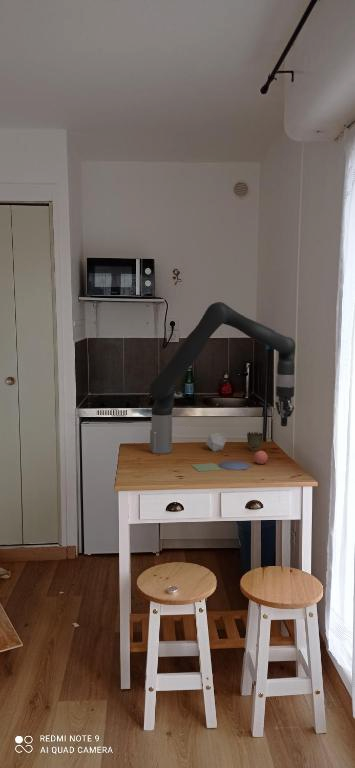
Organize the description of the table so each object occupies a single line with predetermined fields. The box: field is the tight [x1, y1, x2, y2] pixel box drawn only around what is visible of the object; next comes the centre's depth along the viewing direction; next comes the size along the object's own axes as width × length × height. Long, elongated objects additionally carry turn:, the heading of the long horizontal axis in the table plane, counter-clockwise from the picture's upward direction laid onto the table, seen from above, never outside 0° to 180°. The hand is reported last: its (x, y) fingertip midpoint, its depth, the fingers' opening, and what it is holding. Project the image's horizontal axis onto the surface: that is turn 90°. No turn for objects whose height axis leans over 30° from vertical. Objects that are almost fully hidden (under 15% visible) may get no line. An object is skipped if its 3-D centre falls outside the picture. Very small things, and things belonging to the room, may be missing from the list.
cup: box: [246, 431, 264, 452], centre depth 265 cm, size 8×7×8 cm
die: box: [205, 432, 227, 452], centre depth 265 cm, size 8×9×10 cm
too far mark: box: [191, 462, 224, 473], centre depth 236 cm, size 10×10×1 cm
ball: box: [254, 450, 268, 465], centre depth 242 cm, size 6×6×6 cm
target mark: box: [217, 460, 251, 471], centre depth 239 cm, size 13×13×1 cm
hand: (283, 426), depth 243 cm, fingers closed
